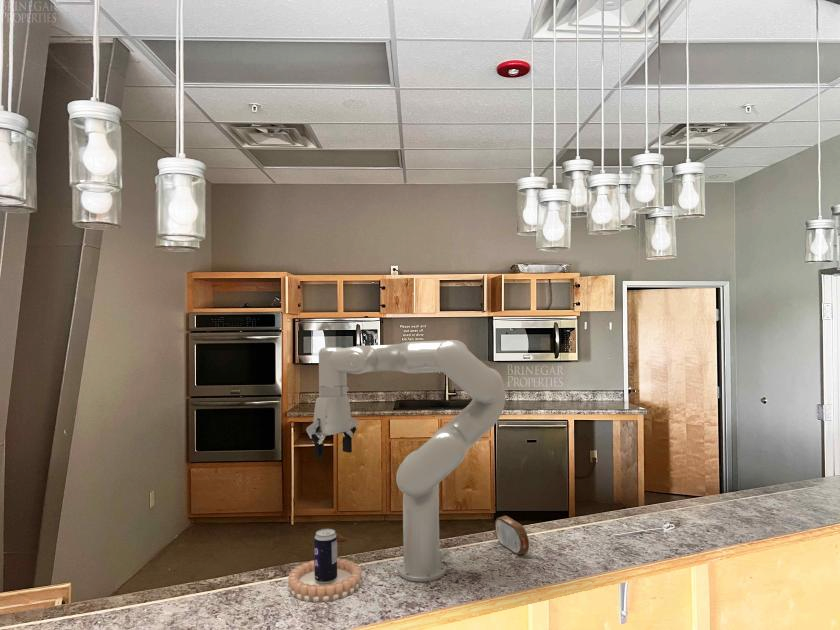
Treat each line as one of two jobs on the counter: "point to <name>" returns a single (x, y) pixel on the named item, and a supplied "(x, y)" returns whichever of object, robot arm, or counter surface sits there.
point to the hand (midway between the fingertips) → (333, 454)
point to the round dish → (311, 590)
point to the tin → (512, 535)
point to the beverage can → (325, 556)
